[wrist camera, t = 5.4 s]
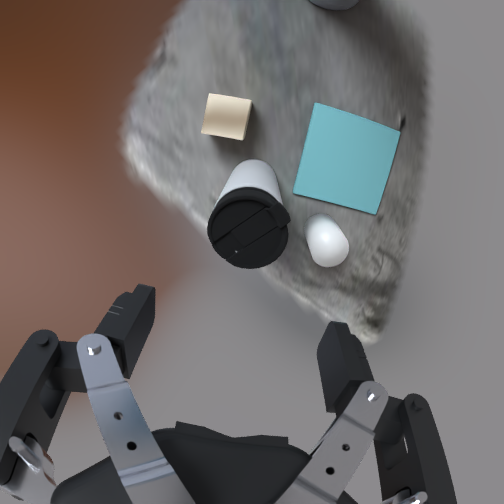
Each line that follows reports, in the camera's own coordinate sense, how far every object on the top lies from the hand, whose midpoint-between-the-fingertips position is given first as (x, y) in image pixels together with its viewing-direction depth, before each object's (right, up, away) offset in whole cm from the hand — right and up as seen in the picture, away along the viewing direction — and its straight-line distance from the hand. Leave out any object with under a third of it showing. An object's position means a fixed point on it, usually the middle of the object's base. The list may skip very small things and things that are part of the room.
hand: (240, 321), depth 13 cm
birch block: (-2, +21, +23) cm, 31 cm away
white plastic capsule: (+11, +6, +29) cm, 32 cm away
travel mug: (+1, +13, +27) cm, 30 cm away
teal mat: (+14, +16, +25) cm, 32 cm away
